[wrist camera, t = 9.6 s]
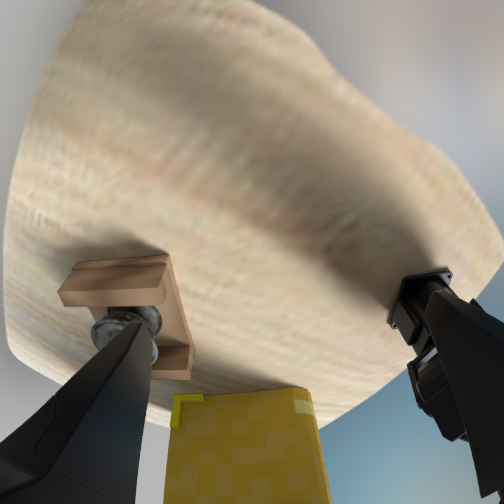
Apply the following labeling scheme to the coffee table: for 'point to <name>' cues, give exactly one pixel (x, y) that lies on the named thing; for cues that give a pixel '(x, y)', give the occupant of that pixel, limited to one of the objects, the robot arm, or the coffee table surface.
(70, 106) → the coffee table surface
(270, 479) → the book
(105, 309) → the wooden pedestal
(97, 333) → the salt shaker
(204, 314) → the coffee table surface
